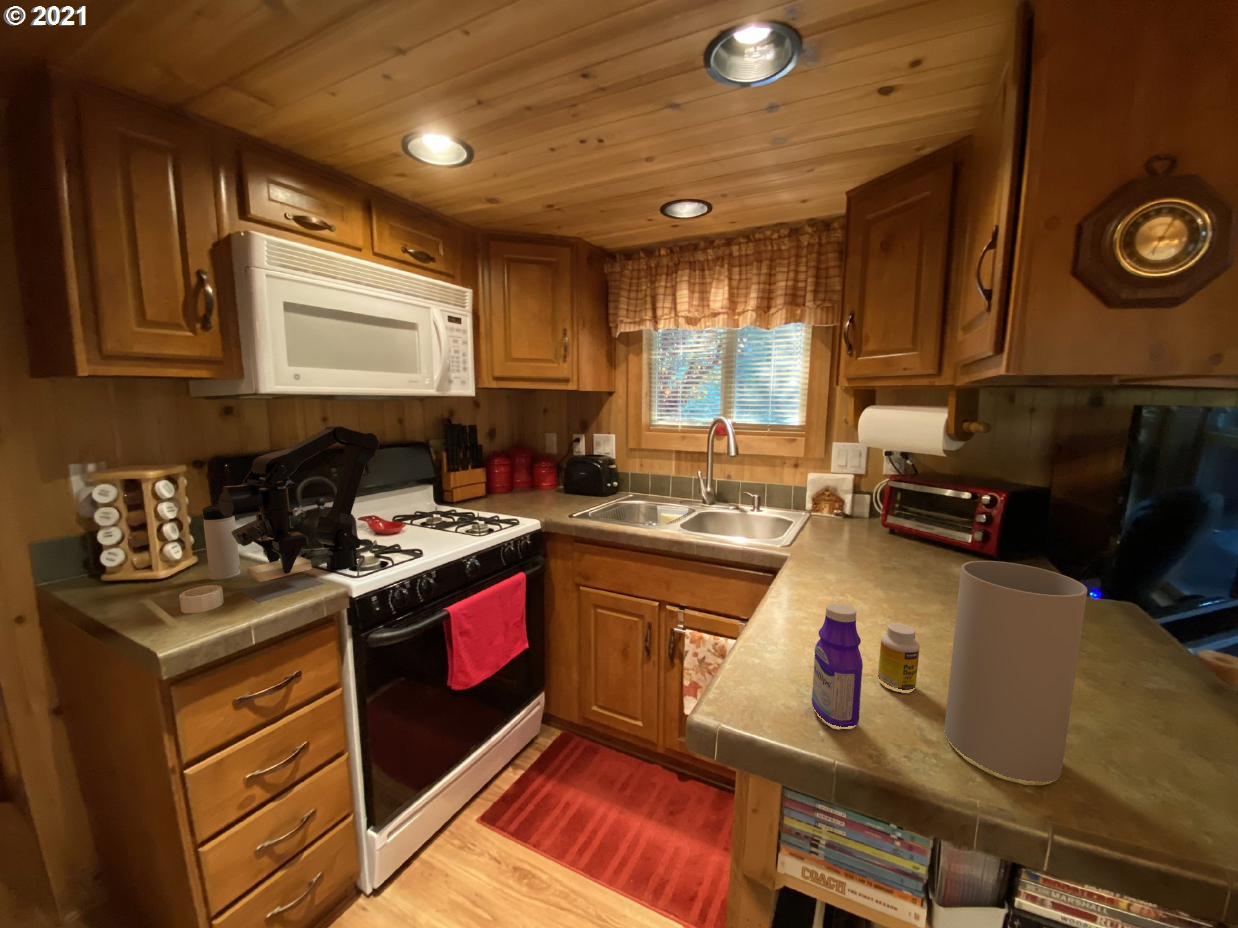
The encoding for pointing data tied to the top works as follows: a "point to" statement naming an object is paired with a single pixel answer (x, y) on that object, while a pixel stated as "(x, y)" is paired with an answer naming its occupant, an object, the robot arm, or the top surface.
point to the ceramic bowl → (201, 599)
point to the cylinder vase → (1014, 667)
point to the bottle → (838, 667)
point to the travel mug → (220, 544)
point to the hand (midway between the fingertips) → (280, 570)
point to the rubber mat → (281, 587)
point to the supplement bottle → (899, 657)
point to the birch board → (277, 569)
